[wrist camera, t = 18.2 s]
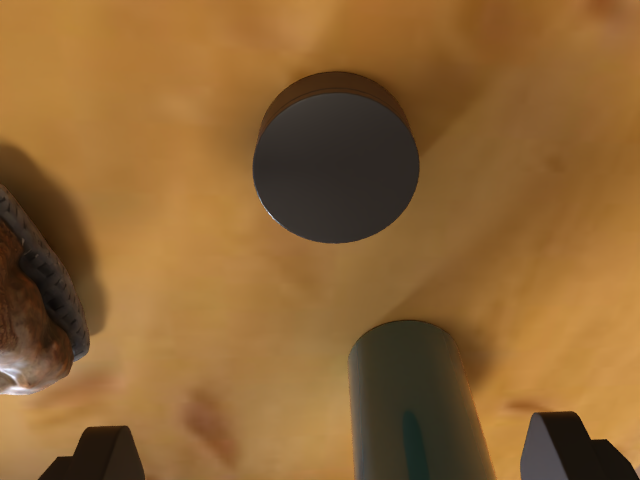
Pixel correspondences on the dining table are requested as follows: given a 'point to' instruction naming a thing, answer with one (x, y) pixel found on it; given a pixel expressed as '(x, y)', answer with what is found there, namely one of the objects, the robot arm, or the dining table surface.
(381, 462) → the jar
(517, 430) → the dining table surface
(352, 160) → the jar lid
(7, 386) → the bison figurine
